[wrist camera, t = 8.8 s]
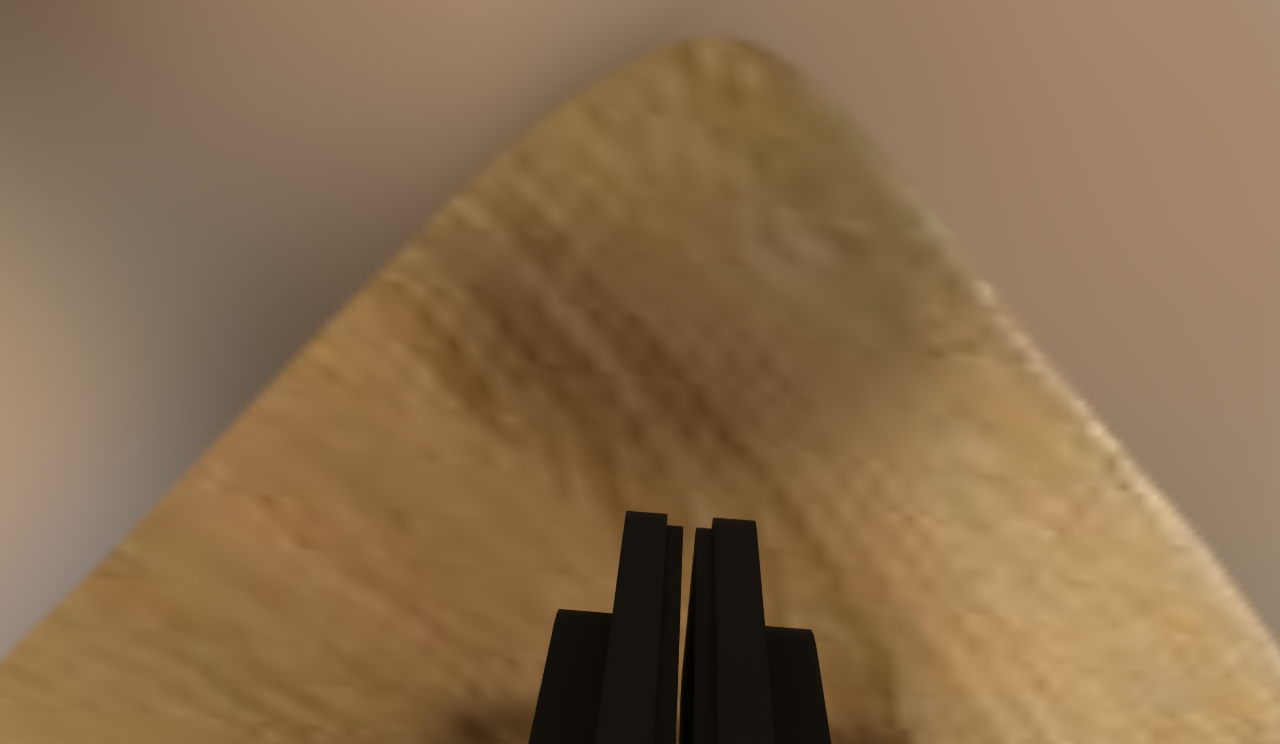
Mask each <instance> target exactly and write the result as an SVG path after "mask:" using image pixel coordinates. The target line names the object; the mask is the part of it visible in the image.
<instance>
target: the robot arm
mask: <svg viewBox="0 0 1280 744" xmlns="http://www.w3.org/2000/svg"><path fill="white" fill-rule="evenodd" d="M682 548H683V526H671V525H667V514H661V513H648V512H635V511H626V516H625V523H624V531H623V539H622V546H621V554H620V561H619V569H618V576H617V584H616V591H615V599H614V607H613V613H601V612H588V611H576V610H564V609H559V610H558V612H557V614H556V618H555V622H554V627H553V631H552V636H551V641H550V645H549V650H548V655H547V659H546V664H545V669H544V673H543V678H542V683H541V687H540V692H539V697H538V702H537V706H536V711H535V716H534V720H533V725H532V730H531V734H530V739H529V744H676V723H677V694H678V665H679V636H680V607H681V577H682ZM679 744H831V739H830V732H829V726H828V720H827V713H826V707H825V700H824V694H823V687H822V681H821V674H820V668H819V661H818V655H817V648H816V643H815V638H814V634H813V632H812V631H811V630H808V629H796V628H784V627H771V626H765V620H764V608H763V596H762V585H761V573H760V562H759V550H758V539H757V527H756V522H755V521H752V520H739V519H726V518H713V522H712V529H709V528H696V533H695V543H694V554H693V564H692V575H691V585H690V596H689V606H688V617H687V627H686V638H685V648H684V659H683V669H682V681H681V697H680V727H679Z"/></svg>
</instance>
